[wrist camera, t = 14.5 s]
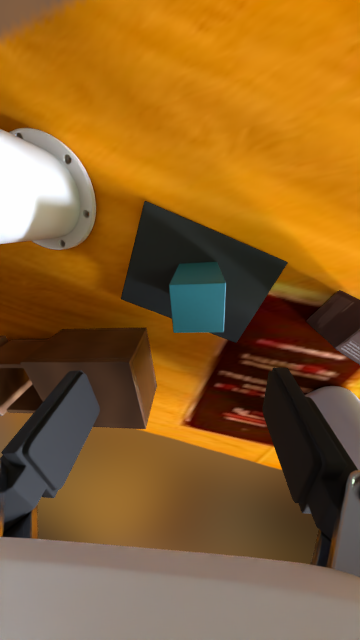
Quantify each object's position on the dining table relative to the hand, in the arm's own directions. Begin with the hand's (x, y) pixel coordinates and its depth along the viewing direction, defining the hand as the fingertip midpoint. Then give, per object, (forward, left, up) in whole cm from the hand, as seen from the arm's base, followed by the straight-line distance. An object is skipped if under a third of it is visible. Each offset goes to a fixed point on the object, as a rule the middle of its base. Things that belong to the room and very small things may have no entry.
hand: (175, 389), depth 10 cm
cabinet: (-8, -20, -20) cm, 30 cm away
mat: (+1, 0, -20) cm, 20 cm away
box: (+22, +3, -21) cm, 30 cm away
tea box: (+1, 0, -20) cm, 20 cm away
